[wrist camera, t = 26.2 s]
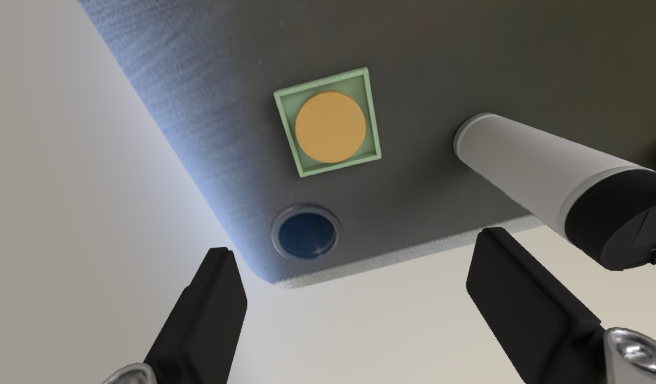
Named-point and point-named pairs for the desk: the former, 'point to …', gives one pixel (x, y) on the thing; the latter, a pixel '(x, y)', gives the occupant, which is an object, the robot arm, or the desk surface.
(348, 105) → the lid
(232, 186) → the desk surface
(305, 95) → the tray
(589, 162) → the travel mug
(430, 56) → the desk surface
